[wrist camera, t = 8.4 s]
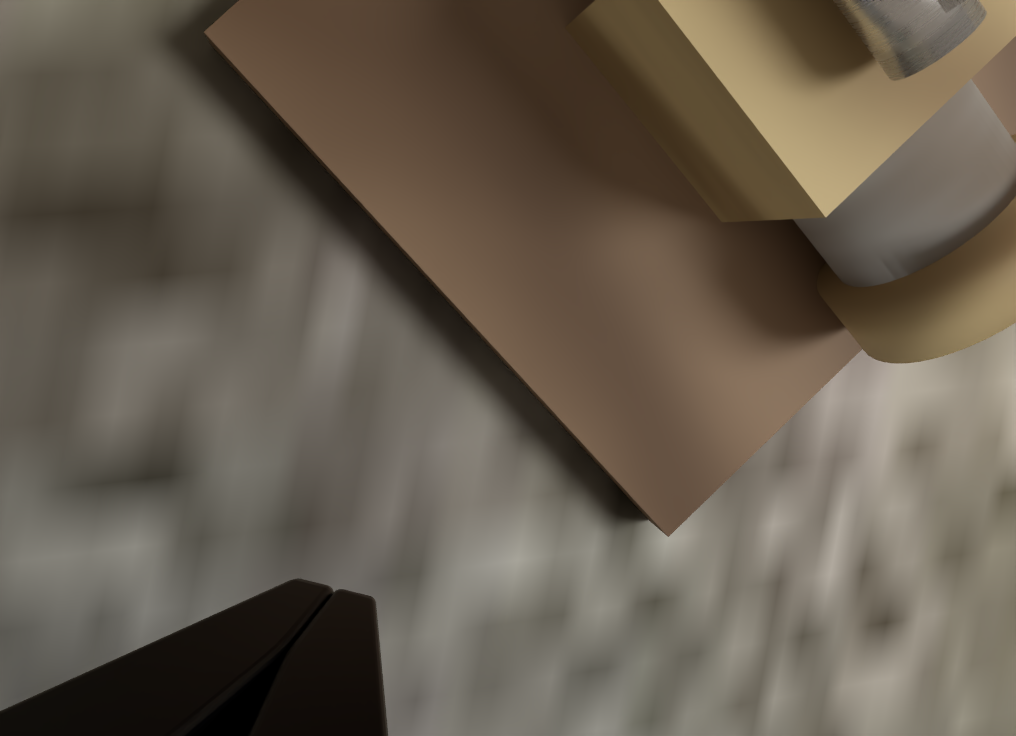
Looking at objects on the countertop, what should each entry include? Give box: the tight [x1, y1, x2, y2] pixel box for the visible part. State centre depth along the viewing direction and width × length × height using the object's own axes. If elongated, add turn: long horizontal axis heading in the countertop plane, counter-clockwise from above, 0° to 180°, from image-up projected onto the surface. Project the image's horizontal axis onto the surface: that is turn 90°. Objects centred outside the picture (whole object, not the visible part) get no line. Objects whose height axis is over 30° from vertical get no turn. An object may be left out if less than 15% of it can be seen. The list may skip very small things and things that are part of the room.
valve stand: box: [204, 0, 1016, 537], centre depth 18 cm, size 16×14×6 cm
